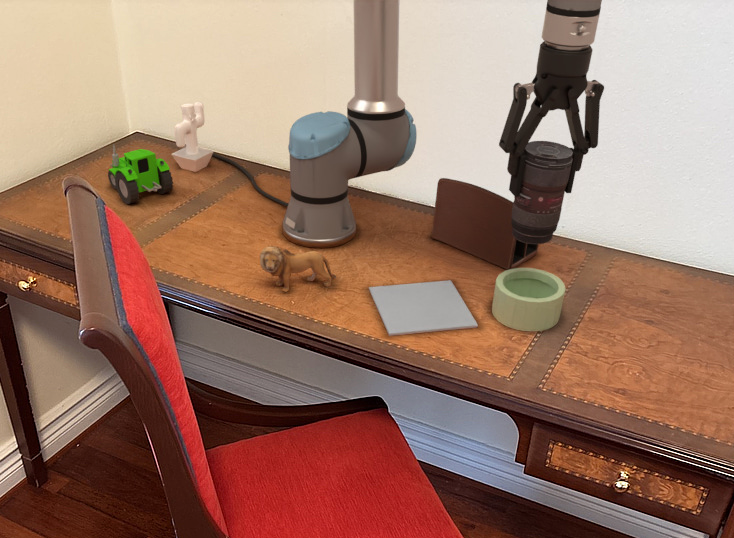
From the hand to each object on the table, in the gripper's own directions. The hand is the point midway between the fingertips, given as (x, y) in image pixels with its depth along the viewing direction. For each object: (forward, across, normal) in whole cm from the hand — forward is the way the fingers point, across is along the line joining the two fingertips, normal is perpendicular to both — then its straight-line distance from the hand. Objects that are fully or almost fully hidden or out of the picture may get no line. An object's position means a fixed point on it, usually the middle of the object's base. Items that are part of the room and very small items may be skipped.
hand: (539, 191), depth 130 cm
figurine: (+24, -54, +76) cm, 96 cm away
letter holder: (+23, +2, +25) cm, 35 cm away
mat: (+23, -17, +4) cm, 29 cm away
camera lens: (+8, 0, 0) cm, 8 cm away
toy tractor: (+24, -67, +64) cm, 95 cm away
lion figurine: (+23, -38, +15) cm, 47 cm away
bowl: (+23, +1, -1) cm, 23 cm away
